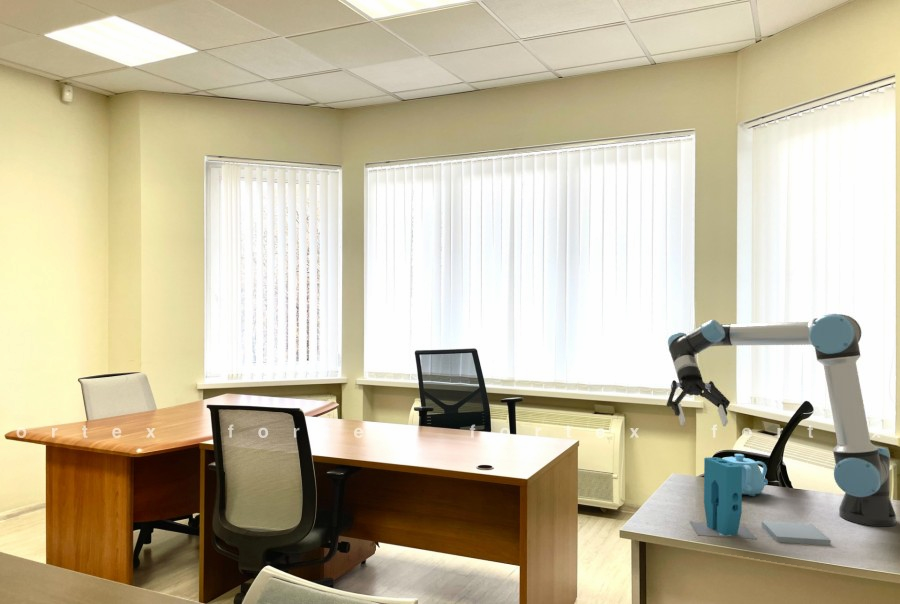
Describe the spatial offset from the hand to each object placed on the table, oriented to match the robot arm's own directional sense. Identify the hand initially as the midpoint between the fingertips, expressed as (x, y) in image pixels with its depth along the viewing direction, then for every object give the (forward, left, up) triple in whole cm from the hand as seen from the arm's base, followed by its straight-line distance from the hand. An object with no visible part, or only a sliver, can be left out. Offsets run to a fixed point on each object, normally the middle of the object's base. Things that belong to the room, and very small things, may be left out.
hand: (704, 423), depth 212 cm
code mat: (-2, +16, -29) cm, 33 cm away
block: (-2, +16, -29) cm, 33 cm away
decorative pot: (-18, -29, -29) cm, 44 cm away
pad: (-22, +16, -29) cm, 40 cm away
